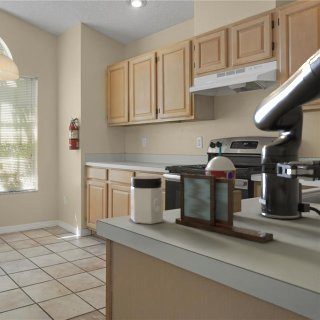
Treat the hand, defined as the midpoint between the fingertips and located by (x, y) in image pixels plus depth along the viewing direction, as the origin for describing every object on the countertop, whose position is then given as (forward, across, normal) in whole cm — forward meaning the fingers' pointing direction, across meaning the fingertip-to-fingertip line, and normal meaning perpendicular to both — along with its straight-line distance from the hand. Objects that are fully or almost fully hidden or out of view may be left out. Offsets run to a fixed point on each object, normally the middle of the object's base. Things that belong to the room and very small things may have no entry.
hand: (262, 168), depth 73 cm
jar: (+27, +9, +16) cm, 32 cm away
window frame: (+9, +3, +15) cm, 18 cm away
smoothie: (+20, -14, +16) cm, 29 cm away
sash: (+10, +1, +14) cm, 17 cm away
